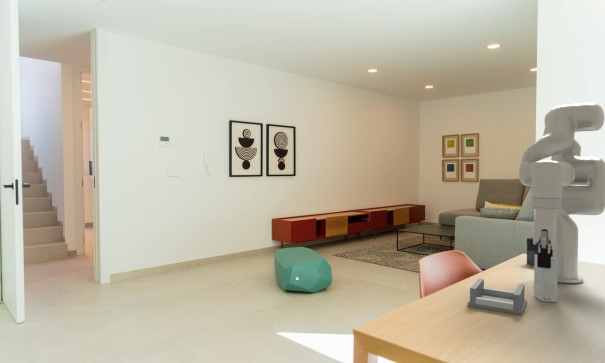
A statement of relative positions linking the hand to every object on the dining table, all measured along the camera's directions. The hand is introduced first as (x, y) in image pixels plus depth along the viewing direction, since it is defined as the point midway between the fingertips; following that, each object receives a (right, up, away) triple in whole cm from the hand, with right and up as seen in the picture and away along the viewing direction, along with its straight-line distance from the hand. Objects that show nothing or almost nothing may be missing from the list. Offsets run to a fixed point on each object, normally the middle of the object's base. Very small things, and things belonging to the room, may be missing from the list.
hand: (545, 265), depth 115 cm
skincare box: (+1, -10, +1) cm, 10 cm away
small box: (+26, -9, +46) cm, 53 cm away
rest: (-15, -10, -4) cm, 19 cm away
